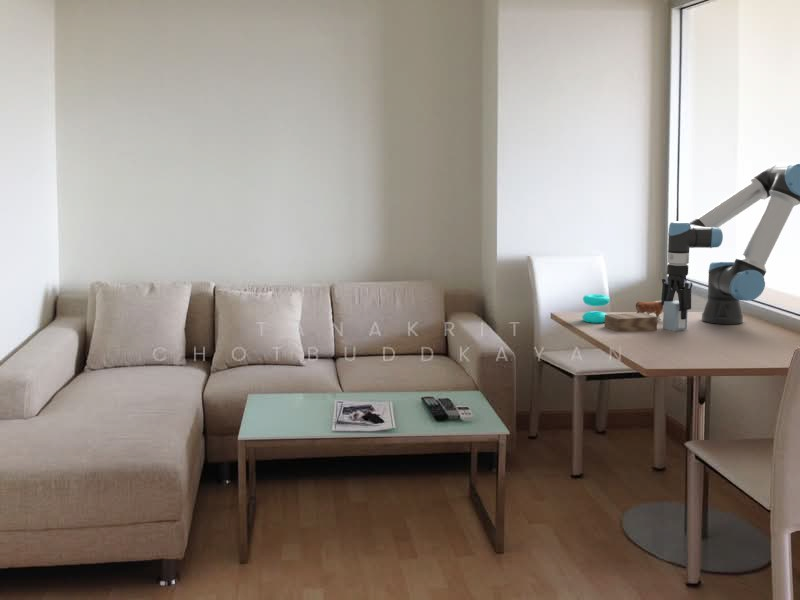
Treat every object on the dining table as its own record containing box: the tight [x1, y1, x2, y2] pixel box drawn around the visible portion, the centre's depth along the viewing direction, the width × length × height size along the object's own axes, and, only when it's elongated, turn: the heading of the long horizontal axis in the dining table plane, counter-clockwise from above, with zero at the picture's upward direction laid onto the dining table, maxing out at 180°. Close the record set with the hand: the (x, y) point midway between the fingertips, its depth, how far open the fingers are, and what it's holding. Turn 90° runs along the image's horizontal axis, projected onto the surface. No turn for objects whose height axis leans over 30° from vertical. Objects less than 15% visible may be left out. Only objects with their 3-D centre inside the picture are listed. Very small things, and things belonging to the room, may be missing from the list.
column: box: [662, 300, 689, 332], centre depth 354 cm, size 6×6×10 cm
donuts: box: [581, 293, 611, 324], centre depth 369 cm, size 10×10×10 cm
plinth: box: [603, 312, 658, 333], centre depth 355 cm, size 16×10×5 cm, turn 106°
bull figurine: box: [635, 299, 664, 322], centre depth 372 cm, size 4×13×8 cm, turn 81°
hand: (674, 326), depth 354 cm, fingers closed on column, 6 cm apart
